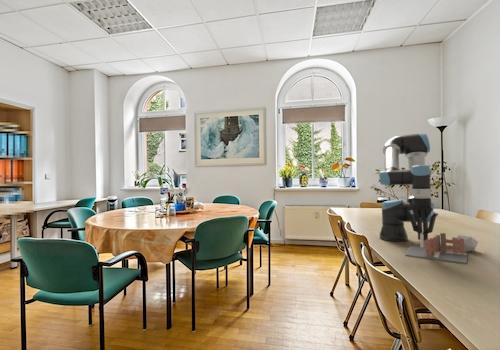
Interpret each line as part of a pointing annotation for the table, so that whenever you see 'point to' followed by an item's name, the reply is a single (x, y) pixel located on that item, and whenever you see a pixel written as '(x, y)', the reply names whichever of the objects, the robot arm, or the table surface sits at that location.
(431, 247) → the fence gate
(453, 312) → the table surface
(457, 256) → the card
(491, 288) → the table surface
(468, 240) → the grey rounded lump
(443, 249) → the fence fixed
